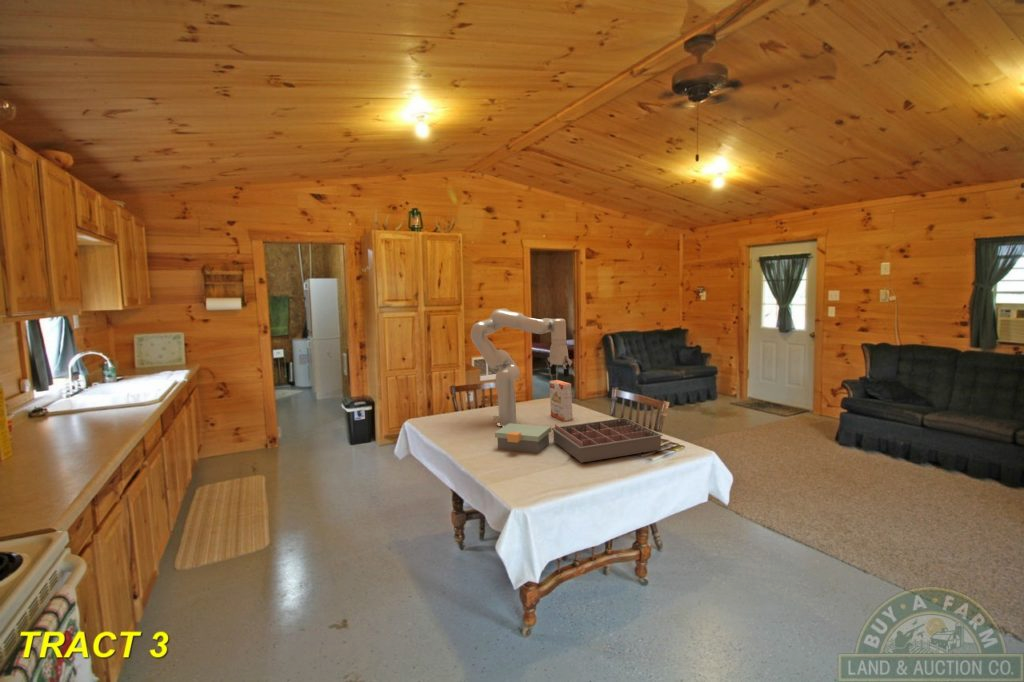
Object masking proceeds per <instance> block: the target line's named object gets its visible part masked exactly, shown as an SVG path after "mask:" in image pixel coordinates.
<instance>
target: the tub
mask: <svg viewBox="0 0 1024 682" xmlns="http://www.w3.org/2000/svg"><path fill="white" fill-rule="evenodd" d="M549 444H550V433H549V434H547V435H546V436H545V437H544V438H542V439H541V440H540V441H539V442H537V441H527V440H521V441H519V442H518V443H516V442H508V441H507V438H497V450H503V449H504V451H506V450H507V451H513V452H525V453H531V454H533V453H534V454H539V453H540V452H542V450H544V448H546V447H547V446H548V445H549Z"/></svg>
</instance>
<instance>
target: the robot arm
mask: <svg viewBox="0 0 1024 682" xmlns="http://www.w3.org/2000/svg"><path fill="white" fill-rule="evenodd" d="M566 322H567V321H566V319H564V318H548V317H544V318H541V319H539V318H533V317H529V316H525V315H524V313H522V312H517V311H513V310H512V311H511V310H509V309H508V308H506V307H505V308H503V307H502V308H498V309H494V310H493V311H492V312H491V314H490V317H489V318H487V319H484V320H479V321H477V322H475V323H474V324H473V326H471V329H470V340H471V341H472V344H473V345H474V346H475V348H476V349H477V350H478V353H480V355H481V357H482V358H483V360H484V361H485V363H486V364H487V366H488V367H490V369H493V370H495V369H499V370H498V371H497V372H496V375H495V384H496V391H497V406H498V407H497V408H498V416H497V415H493V417H492V420H493V421H497V422H498V423H500V425H501V426H506V425H507V424H509V423H513V424H520V421H519V420H517V405H516V404H517V401H516V389H515V385H514V383H515V382H516V381H518V379H519V378H520V374H521V371H520V369H519V367H518V366H517V364H516V363H515V362H514V360H513V358H511V356H510V354H509V353H508V352H507V351H506V350H505V349H500V348H499V349H497V348H496V346H494V343H493V342H492V341H491V340H490V339H489V338H488V337H487V336H489V335H493V334H494V333H496V332H497V331H499V330H500V329H502V328H503V327H506V328H507V327H508V328H512V329H517V330H520V331H523V332H527V333H529V334H537V335H543V334H546V333H550V334H551V345H550V348H549V356H548V357H547V361H548V364H549V367H550V375H556V374H557V366H562V367H563V377H564V378H566V377H569V376H570V368H571V366H572V363H573V361H572V359H570V358H569V351H568V345H567V325H566ZM497 422H496V423H497Z"/></svg>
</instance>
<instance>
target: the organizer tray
mask: <svg viewBox="0 0 1024 682" xmlns="http://www.w3.org/2000/svg"><path fill="white" fill-rule="evenodd" d="M551 430H552V431H553V443H555V444H556V445H558V446H559V447H561V448H562V449H563V451H565V452H567V453H568V454H570V455H571V456H572V457H573V458H575V459H576V460H577V461H579V462H580V463H587V462H592V461H600V460H603V459H604V460H605V459H610V458H611V459H612V458H617V457H618V458H619V457H624V456H630V455H635V454H642V452H643V453H648V452H654V451H660V450H661V449H662V448H661V447H662V445H661V444H662V442H661V441H662V438H661V437H663V434H661V433H659V432H657V431H654V430H652V429H650V428H648V427H646V426H644V425H642V424H640V423H637V422H635V421H633V420H632V419H629V418H627V417H621V418H613V419H607V420H599V421H592V422H587V423H586V422H585V423H584V422H583V423H579V424H571V425H564V426H559V425H558V424H556V423H555V424H554V427H551ZM661 451H662V450H661Z"/></svg>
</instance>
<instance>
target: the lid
mask: <svg viewBox="0 0 1024 682" xmlns="http://www.w3.org/2000/svg"><path fill="white" fill-rule="evenodd" d="M551 428H552V426H546V425H535V424H534V425H533V424H522V423H519V424H513V423H509V424H507V425H506V426H504V427H500V428H499V429H498V430H496V431H495V432H494V437H495V438H497V439H498V438H507V441H508V442H516V443H518V442H519V441H521V440H527V441H537V442H539V441H540V440H541V439H542V438H544V437H545V436H546V435H547V434H549V435H550V433H551V432H552V429H551Z"/></svg>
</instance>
